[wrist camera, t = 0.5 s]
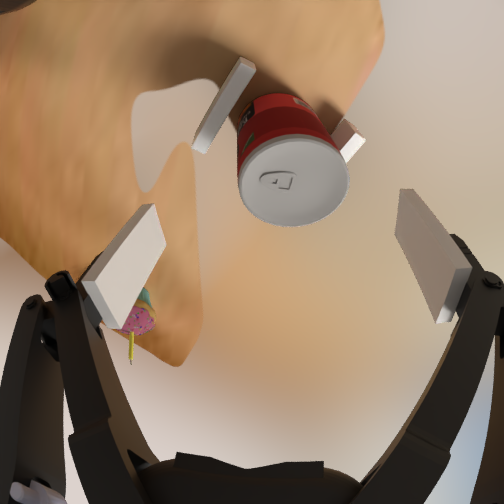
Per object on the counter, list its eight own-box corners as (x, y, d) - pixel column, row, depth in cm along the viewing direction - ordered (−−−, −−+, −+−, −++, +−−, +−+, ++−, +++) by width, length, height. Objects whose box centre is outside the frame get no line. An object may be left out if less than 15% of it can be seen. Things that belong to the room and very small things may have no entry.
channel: (304, 185, 33) (310, 204, 31) (195, 132, 28) (191, 148, 25) (354, 125, 28) (366, 140, 25) (240, 56, 22) (241, 62, 20)
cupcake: (169, 300, 48) (162, 367, 40) (132, 310, 51) (122, 372, 42) (137, 270, 43) (121, 342, 34) (100, 284, 45) (83, 349, 37)
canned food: (232, 94, 25) (230, 144, 18) (316, 88, 25) (356, 135, 17) (241, 162, 31) (244, 233, 23) (316, 155, 31) (345, 223, 23)
